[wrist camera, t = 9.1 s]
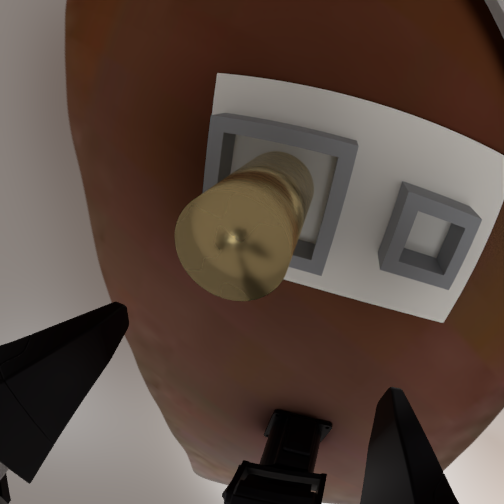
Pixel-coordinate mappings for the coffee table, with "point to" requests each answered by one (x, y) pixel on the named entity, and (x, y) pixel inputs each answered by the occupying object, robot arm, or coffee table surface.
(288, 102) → the white socket board
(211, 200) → the gold metallic cylinder
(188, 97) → the coffee table surface
